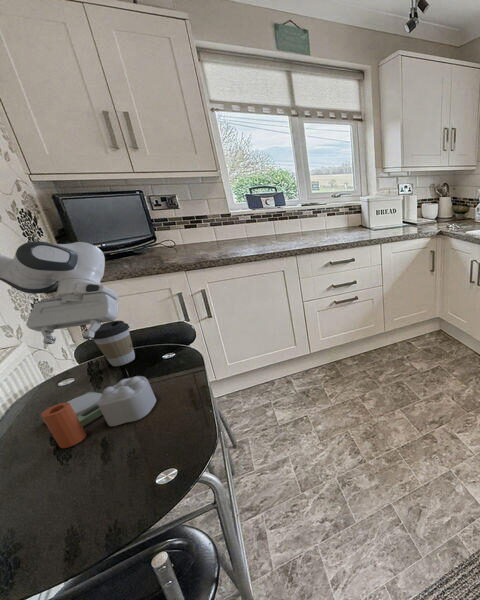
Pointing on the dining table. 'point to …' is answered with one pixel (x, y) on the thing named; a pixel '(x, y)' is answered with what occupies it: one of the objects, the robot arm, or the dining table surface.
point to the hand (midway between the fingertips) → (68, 340)
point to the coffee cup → (115, 342)
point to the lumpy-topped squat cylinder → (127, 401)
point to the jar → (64, 425)
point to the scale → (86, 407)
